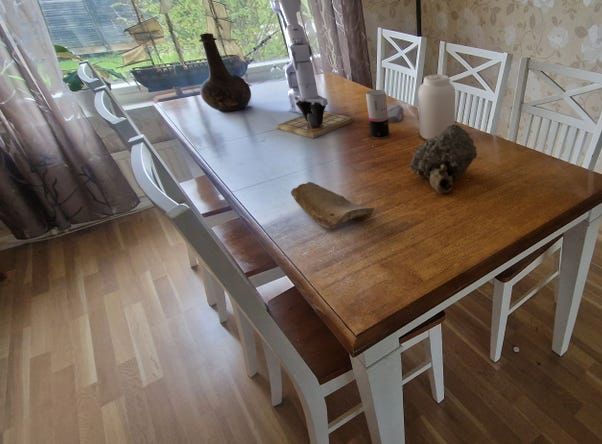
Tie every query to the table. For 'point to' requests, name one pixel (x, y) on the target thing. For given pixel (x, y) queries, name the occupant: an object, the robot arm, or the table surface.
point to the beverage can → (377, 113)
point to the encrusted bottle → (444, 158)
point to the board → (304, 129)
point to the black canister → (312, 120)
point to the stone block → (395, 113)
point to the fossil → (327, 205)
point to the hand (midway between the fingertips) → (314, 122)
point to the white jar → (436, 105)
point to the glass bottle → (222, 81)
